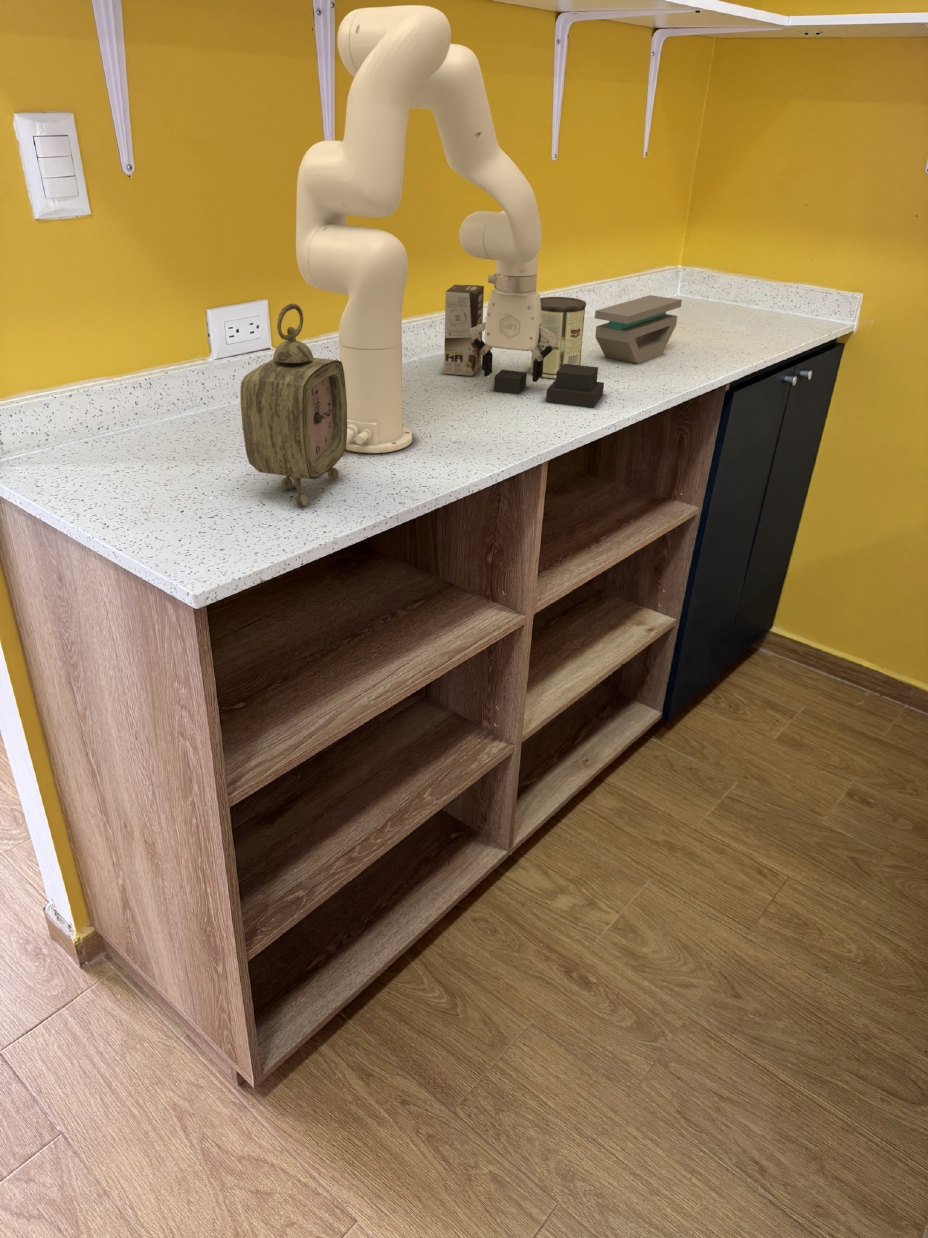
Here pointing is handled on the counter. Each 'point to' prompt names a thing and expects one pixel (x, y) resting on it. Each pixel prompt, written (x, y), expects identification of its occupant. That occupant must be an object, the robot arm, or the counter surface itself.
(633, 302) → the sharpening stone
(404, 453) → the counter surface
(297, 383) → the tabletop clock
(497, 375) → the small pad
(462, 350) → the coffee box
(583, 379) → the medium pad
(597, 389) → the large pad
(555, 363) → the coffee can
